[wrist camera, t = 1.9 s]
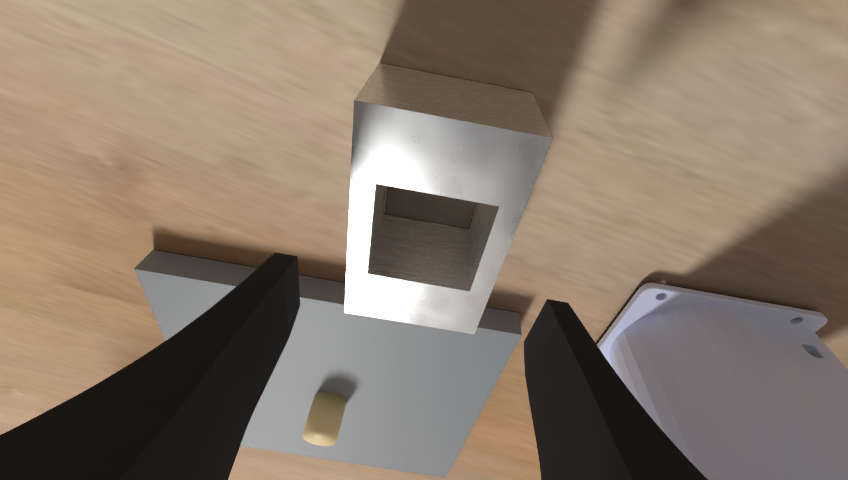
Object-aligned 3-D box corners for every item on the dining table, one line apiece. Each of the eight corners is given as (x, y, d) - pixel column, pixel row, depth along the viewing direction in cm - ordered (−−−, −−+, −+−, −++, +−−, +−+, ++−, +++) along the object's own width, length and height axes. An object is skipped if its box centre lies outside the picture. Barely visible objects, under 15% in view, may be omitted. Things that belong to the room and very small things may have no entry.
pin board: (518, 312, 21) (527, 378, 18) (446, 458, 34) (445, 512, 30) (153, 249, 20) (96, 306, 17) (219, 423, 33) (193, 474, 30)
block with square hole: (532, 92, 14) (552, 138, 11) (472, 270, 19) (474, 334, 16) (379, 62, 14) (354, 100, 10) (363, 251, 19) (344, 312, 16)
